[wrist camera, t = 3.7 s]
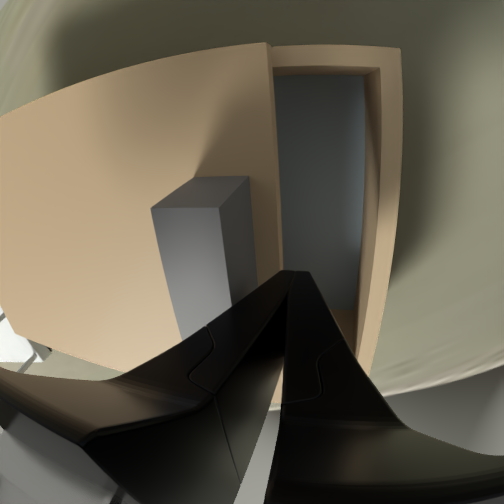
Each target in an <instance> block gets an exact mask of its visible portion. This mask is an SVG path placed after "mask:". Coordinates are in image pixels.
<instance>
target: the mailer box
mask: <svg viewBox="0 0 504 504" xmlns="http://www.w3.org/2000/svg"><path fill="white" fill-rule="evenodd" d="M271 57H272V70H273V83H274V97H275V111H276V127H277V143H278V160H279V179H280V199H281V221H282V246H283V270H294V271H309V272H310V273H311V275H312V277H313V279H314V280H315V282H316V284H317V286H318V288H319V290H320V291H321V293H322V295H323V297H324V299H325V301H326V303H327V305H328V306H329V308H330V310H331V312H332V314H333V316H334V318H335V320H336V322H337V323H338V325H339V327H340V329H341V331H342V333H343V335H344V337H345V340H347V342H348V344H349V346H350V348H351V350H352V352H353V354H354V355H355V357H356V359H357V361H358V362H359V364H360V365H361V367H362V368H363V370H364V371H365V373H366V374H367V376H368V377H369V373H370V369H371V365H372V361H373V357H374V353H375V348H376V344H377V340H378V335H379V330H380V326H381V321H382V316H383V311H384V306H385V300H386V295H387V289H388V283H389V277H390V271H391V264H392V258H393V250H394V243H395V235H396V226H397V217H398V207H399V195H400V182H401V166H402V142H403V87H402V63H401V48H391V47H379V46H362V45H290V46H274V47H271Z"/></svg>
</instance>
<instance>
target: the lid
mask: <svg viewBox="0 0 504 504" xmlns="http://www.w3.org/2000/svg"><path fill="white" fill-rule="evenodd" d="M280 270H283V246H282V221H281V199H280V179H279V160H278V143H277V127H276V111H275V97H274V83H273V70H272V57H271V45H269V44H268V43H266V42H262V43H252V44H242V45H234V46H227V47H220V48H213V49H207V50H201V51H195V52H190V53H185V54H180V55H175V56H170V57H166V58H161V59H157V60H153V61H149V62H145V63H141V64H137V65H133V66H130V67H126V68H123V69H119V70H116V71H112V72H109V73H106V74H103V75H100V76H97V77H94V78H91V79H88V80H85V81H82V82H79V83H77V84H74V85H71V86H69V87H66V88H63V89H61V90H58V91H56V92H53V93H51V94H48V95H46V96H44V97H41V98H39V99H37V100H34V101H32V102H30V103H28V104H26V105H23V106H21V107H19V108H17V109H15V110H13V111H11V112H9V113H7V114H5V115H3V116H1V117H0V306H1V308H2V310H3V312H4V314H5V316H6V318H7V320H8V321H9V323H10V325H11V327H12V329H13V331H14V333H15V334H17V335H19V336H22V337H24V338H27V339H29V340H32V341H34V342H37V343H39V344H42V345H44V346H47V347H49V348H52V349H55V350H58V351H60V352H63V353H66V354H69V355H72V356H74V357H77V358H80V359H83V360H86V361H89V362H92V363H96V364H99V365H102V366H105V367H108V368H112V369H115V370H119V371H122V372H128V371H130V370H132V369H134V368H136V367H137V366H139V365H141V364H143V363H145V362H147V361H148V360H150V359H152V358H154V357H156V356H158V355H159V354H161V353H163V352H165V351H166V350H168V349H170V348H172V347H173V346H175V345H177V344H178V343H180V342H181V341H183V340H184V339H186V338H187V337H189V336H190V335H192V334H193V333H195V332H196V331H198V330H199V329H201V328H202V327H203V326H206V324H208V323H209V322H211V321H212V320H213V319H215V318H216V317H217V316H219V315H220V314H222V313H223V312H224V311H226V310H227V309H229V308H230V307H231V306H233V305H234V304H235V303H237V302H238V301H240V300H241V299H242V298H244V297H245V296H246V295H248V294H249V293H251V292H252V291H253V290H255V289H256V288H257V287H259V286H260V285H261V284H263V283H264V282H265V281H267V280H268V279H269V278H271V277H272V276H274V275H275V274H276V273H278V272H279V271H280ZM283 365H284V364H283ZM282 382H283V368H282V371H281V374H280V377H279V380H278V383H277V386H276V389H275V392H274V395H273V398H272V401H271V402H274V403H281V398H282Z"/></svg>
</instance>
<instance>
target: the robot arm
mask: <svg viewBox="0 0 504 504" xmlns="http://www.w3.org/2000/svg"><path fill="white" fill-rule="evenodd" d="M283 364H284V365H283ZM282 368H283V382H282V398H281V412H280V424H279V430H278V436H277V441H276V446H275V451H274V456H273V461H272V465H271V470H270V475H269V480H268V484H267V489H266V494H265V499H264V504H504V456H493V455H485V454H480V453H476V452H473V451H470V450H466V449H464V448H461V447H458V446H455V445H452V444H449V443H447V442H444V441H441V440H438V439H436V438H433V437H430V436H428V435H425V434H422V433H420V432H417V431H415V430H413V429H411V428H409V427H408V426H407V425H405V424H404V423H403V422H402V421H401V420H400V419H399V418H398V417H397V415H396V414H395V413H394V412H393V410H392V409H391V407H390V406H389V405H388V403H387V402H386V401H385V399H384V398H383V396H382V395H381V394H380V392H379V391H378V389H377V388H376V387H375V385H374V384H373V383H372V381H371V380H370V378H369V377H368V376H367V374H366V373H365V371H364V370H363V368H362V367H361V365H360V364H359V362H358V361H357V359H356V357H355V355H354V354H353V352H352V350H351V348H350V346H349V344H348V342H347V340H345V337H344V335H343V333H342V331H341V329H340V327H339V325H338V323H337V322H336V320H335V318H334V316H333V314H332V312H331V310H330V308H329V306H328V305H327V303H326V301H325V299H324V297H323V295H322V293H321V291H320V290H319V288H318V286H317V284H316V282H315V280H314V279H313V277H312V275H311V273H310V272H309V271H294V270H280V271H279V272H278V273H276V274H275V275H274V276H272V277H271V278H269V279H268V280H267V281H265V282H264V283H263V284H261V285H260V286H259V287H257V288H256V289H255V290H253V291H252V292H251V293H249V294H248V295H246V296H245V297H244V298H242V299H241V300H240V301H238V302H237V303H235V304H234V305H233V306H231V307H230V308H229V309H227V310H226V311H224V312H223V313H222V314H220V315H219V316H217V317H216V318H215V319H213V320H212V321H211V322H209V323H208V324H206V326H203V327H202V328H201V329H199V330H198V331H196V332H195V333H193V334H192V335H190V336H189V337H187V338H186V339H184V340H183V341H181V342H180V343H178V344H177V345H175V346H173V347H172V348H170V349H168V350H166V351H165V352H163V353H161V354H159V355H158V356H156V357H154V358H152V359H150V360H148V361H147V362H145V363H143V364H141V365H139V366H137V367H136V368H134V369H132V370H130V371H128V372H126V373H124V374H122V375H120V376H118V377H115V378H112V379H108V380H101V381H89V380H76V379H64V378H54V377H45V376H37V375H29V374H23V373H18V372H13V371H10V370H7V369H4V368H2V367H0V426H1V427H2V428H3V429H4V430H3V432H2V433H1V434H0V504H233V503H234V500H235V498H236V496H237V493H238V491H239V488H240V484H241V483H242V480H243V478H244V475H245V472H246V470H247V467H248V465H249V462H250V459H251V457H252V454H253V451H254V449H255V446H256V443H257V440H258V437H259V435H260V432H261V429H262V427H263V424H264V421H265V418H266V415H267V412H268V410H269V407H270V404H271V401H272V398H273V395H274V392H275V389H276V386H277V383H278V380H279V377H280V374H281V371H282Z"/></svg>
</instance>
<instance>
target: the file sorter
mask: <svg viewBox="0 0 504 504" xmlns="http://www.w3.org/2000/svg"><path fill="white" fill-rule="evenodd" d="M50 354H51V352H50V350H49V349H48V348H47V346H44V345H42V344H39V343H37V342H34V341H32V340H29V339H27V338H24V337H22V336H19V335H17V334H15V333H14V331H13V329H12V327H11V325H10V323H9V321H8V320H7V318H6V316H5V314H4V312H3V310H2V308H1V306H0V362H25V363H24V364H23V365H22V366H21V368H20V369H19V370H18V371H17V372H18V373H24V372H25V371H26V370H27V368H28V367H29V366H30V365H31V364H32V363H33V362H44V361H45V360H46V359H47V357H48V356H49V355H50Z"/></svg>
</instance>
